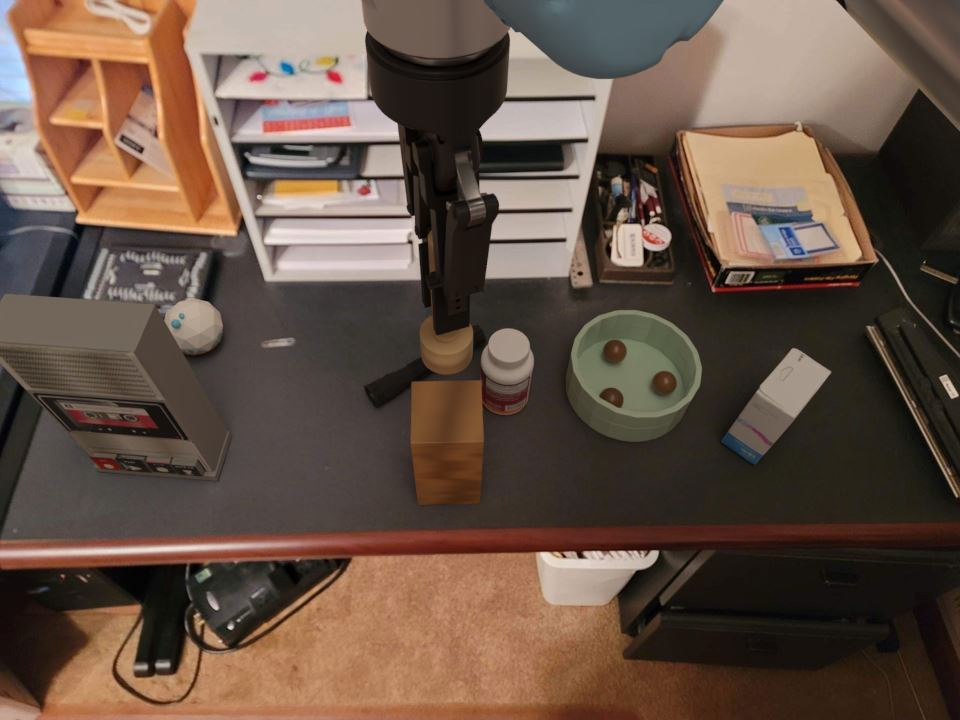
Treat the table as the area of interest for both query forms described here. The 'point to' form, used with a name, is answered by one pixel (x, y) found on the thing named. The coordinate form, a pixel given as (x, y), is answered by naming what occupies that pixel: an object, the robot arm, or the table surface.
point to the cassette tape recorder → (114, 384)
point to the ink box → (775, 405)
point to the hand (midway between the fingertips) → (445, 313)
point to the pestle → (444, 340)
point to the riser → (447, 441)
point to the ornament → (195, 326)
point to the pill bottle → (506, 372)
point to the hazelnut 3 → (664, 383)
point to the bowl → (632, 375)
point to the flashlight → (407, 375)
